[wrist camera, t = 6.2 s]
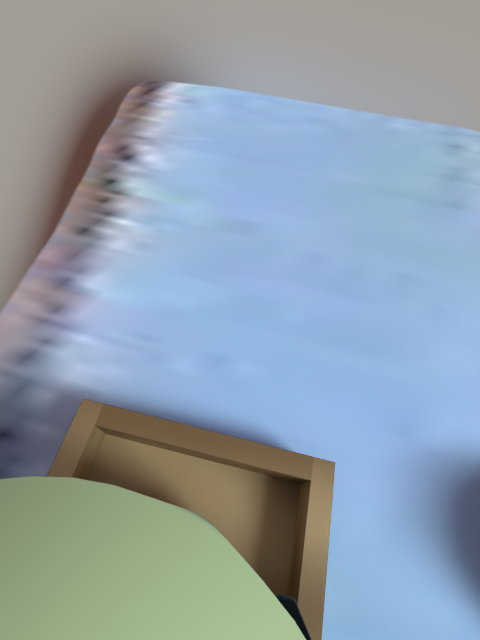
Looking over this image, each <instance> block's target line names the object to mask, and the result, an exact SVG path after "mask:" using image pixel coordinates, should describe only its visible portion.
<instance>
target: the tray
mask: <svg viewBox="0 0 480 640" xmlns="http://www.w3.org/2000/svg"><path fill="white" fill-rule="evenodd" d="M334 471H335V462H331V461H327V460H324V459H320V458H316V457H312V456H308V455H304V454H300V453H296V452H292V451H288V450H284V449H280V448H276V447H272V446H268V445H264V444H260V443H256V442H252V441H249V440H245V439H241V438H237V437H233V436H229V435H225V434H221V433H217V432H213V431H209V430H205V429H201V428H197V427H193V426H189V425H185V424H181V423H177V422H174V421H170V420H166V419H162V418H158V417H154V416H150V415H146V414H142V413H138V412H134V411H130V410H126V409H122V408H118V407H114V406H110V405H106V404H102V403H99V402H95V401H91V400H87V399H83V400H82V402H81V404H80V406H79V409H78V411H77V413H76V415H75V417H74V419H73V421H72V424H71V426H70V428H69V430H68V432H67V434H66V436H65V438H64V441H63V443H62V445H61V447H60V449H59V451H58V453H57V455H56V458H55V460H54V462H53V464H52V466H51V468H50V470H49V472H48V475H47V477H68V478H78V479H83V480H89V481H94V482H100V483H105V484H111V485H115V486H118V487H121V488H124V489H127V490H130V491H133V492H136V493H139V494H142V495H145V496H148V497H151V498H154V499H157V500H160V501H163V502H166V503H169V504H172V505H175V506H178V507H181V508H184V509H187V510H190V511H193V512H196V513H197V514H199V515H201V516H203V517H204V518H206V519H207V520H209V521H210V522H211V523H212V524H213V525H214V526H215V527H216V528H217V529H218V530H219V531H220V532H221V534H222V535H223V536H224V537H225V538H226V539H227V540H228V541H229V543H230V544H231V545H232V546H233V547H234V548H235V549H236V551H237V552H238V553H239V554H240V555H241V556H242V557H243V558H244V560H245V561H246V562H247V563H248V564H249V565H250V566H251V568H252V569H253V570H254V571H255V572H256V573H257V574H258V575H259V577H260V578H261V579H262V580H263V581H264V583H265V584H266V585H267V587H268V588H269V589H270V590H271V592H272V593H273V594H274V595H275V596H276V594H283V595H287V596H291V597H293V598H294V599H295V601H296V603H297V606H298V608H299V610H300V613H301V615H302V618H303V620H304V623H305V625H306V627H307V630H308V632H309V635H310V637H311V640H321V637H322V624H323V612H324V599H325V586H326V573H327V560H328V548H329V535H330V522H331V509H332V497H333V484H334Z"/></svg>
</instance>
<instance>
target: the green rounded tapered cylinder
mask: <svg viewBox="0 0 480 640" xmlns="http://www.w3.org/2000/svg"><path fill="white" fill-rule="evenodd" d="M0 640H306V639H305V637H304V635H303V634H302V632H301V630H300V629H299V627H298V626H297V624H296V622H295V621H294V619H293V618H292V617H291V616H290V614H289V613H288V612H287V611H286V609H285V608H284V607H283V606H282V604H281V603H280V602H279V600H278V599H277V598H276V597H275V595H274V594H273V593H272V592H271V590H270V589H269V588H268V587H267V585H266V584H265V583H264V581H263V580H262V579H261V578H260V577H259V575H258V574H257V573H256V572H255V571H254V570H253V569H252V568H251V566H250V565H249V564H248V563H247V562H246V561H245V560H244V558H243V557H242V556H241V555H240V554H239V553H238V552H237V551H236V549H235V548H234V547H233V546H232V545H231V544H230V543H229V541H228V540H227V539H226V538H225V537H224V536H223V535H222V534H221V532H220V531H219V530H218V529H217V528H216V527H215V526H214V525H213V524H212V523H211V522H210V521H209V520H207V519H206V518H204V517H203V516H201V515H199V514H197V513H196V512H193V511H190V510H187V509H184V508H181V507H178V506H175V505H172V504H169V503H166V502H163V501H160V500H157V499H154V498H151V497H148V496H145V495H142V494H139V493H136V492H133V491H130V490H127V489H124V488H121V487H118V486H115V485H111V484H105V483H100V482H94V481H89V480H83V479H78V478H68V477H41V476H27V477H16V478H6V479H0Z"/></svg>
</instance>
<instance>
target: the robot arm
mask: <svg viewBox="0 0 480 640" xmlns="http://www.w3.org/2000/svg"><path fill="white" fill-rule="evenodd" d="M275 597H276V598H277V599H278V600H279V602H280V603H281V604H282V606H283V607H284V608H285V609H286V611H287V612H288V613H289V614H290V616H291V617H292V618H293V619H294V621H295V622H296V624H297V626H298V627H299V629H300V630H301V632H302V634H303V635H304V637H305V639H306V640H311V637H310V635H309V632H308V630H307V627H306V625H305V623H304V620H303V618H302V615H301V613H300V610H299V608H298V606H297V603H296V601H295V599H294V598H293V597H291V596H287V595H283V594H276V596H275Z"/></svg>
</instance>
